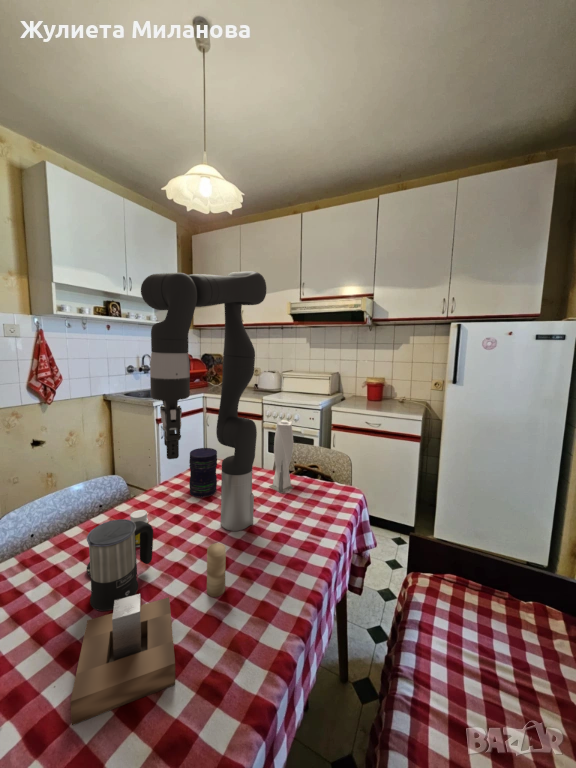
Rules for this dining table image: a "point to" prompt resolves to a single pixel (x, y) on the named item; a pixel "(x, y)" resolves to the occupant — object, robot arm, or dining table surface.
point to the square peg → (126, 627)
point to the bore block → (123, 664)
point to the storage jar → (203, 472)
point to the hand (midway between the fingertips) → (171, 451)
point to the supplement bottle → (139, 516)
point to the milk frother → (116, 560)
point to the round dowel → (216, 569)
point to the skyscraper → (282, 455)
